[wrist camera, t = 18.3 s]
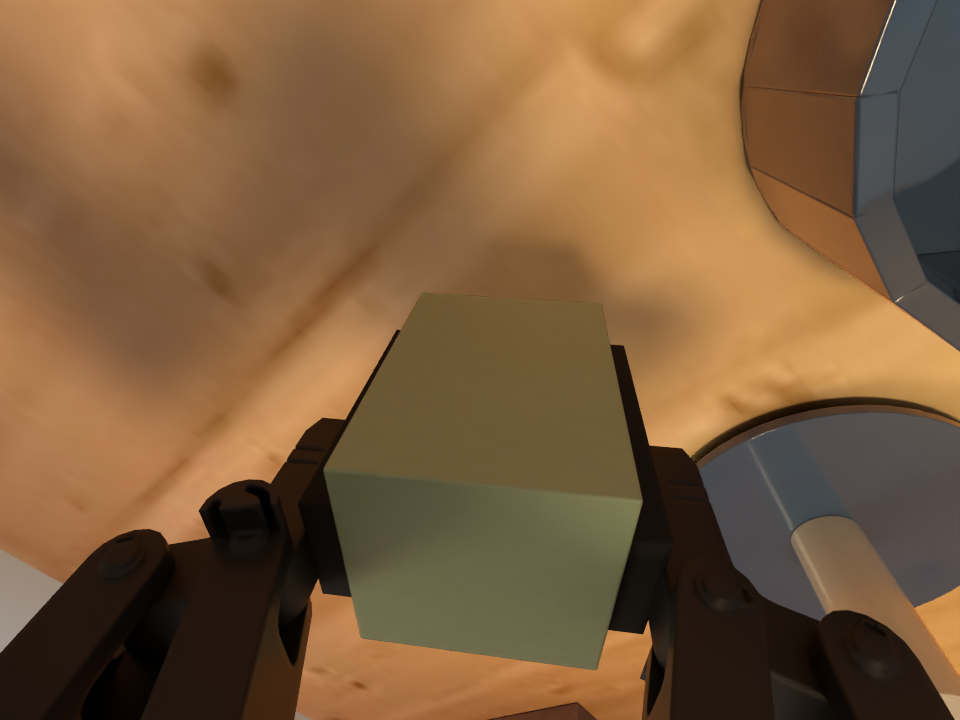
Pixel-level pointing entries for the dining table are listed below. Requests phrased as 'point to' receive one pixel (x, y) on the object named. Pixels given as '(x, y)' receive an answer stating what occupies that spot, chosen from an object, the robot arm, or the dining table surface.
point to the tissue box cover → (554, 714)
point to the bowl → (864, 141)
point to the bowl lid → (847, 517)
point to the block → (489, 482)
